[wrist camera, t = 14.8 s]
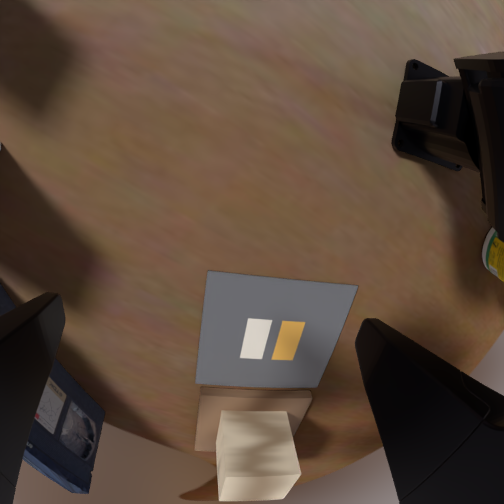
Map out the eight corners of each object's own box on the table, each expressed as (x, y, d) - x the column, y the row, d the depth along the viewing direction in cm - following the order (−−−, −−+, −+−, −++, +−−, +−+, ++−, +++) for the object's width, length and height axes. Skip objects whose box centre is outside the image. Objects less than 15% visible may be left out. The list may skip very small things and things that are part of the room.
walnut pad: (310, 390, 28) (312, 398, 27) (284, 444, 32) (285, 451, 31) (200, 386, 26) (200, 395, 25) (194, 443, 30) (194, 450, 29)
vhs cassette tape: (107, 412, 27) (90, 495, 18) (87, 415, 27) (67, 493, 18) (-8, 260, 19) (-79, 334, 10) (-25, 272, 19) (-90, 342, 10)
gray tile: (357, 285, 23) (358, 286, 23) (316, 386, 28) (316, 387, 27) (207, 270, 21) (208, 271, 21) (195, 382, 26) (195, 383, 26)
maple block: (286, 411, 27) (301, 474, 21) (272, 443, 30) (283, 498, 23) (221, 410, 26) (225, 476, 20) (215, 442, 29) (219, 500, 22)
